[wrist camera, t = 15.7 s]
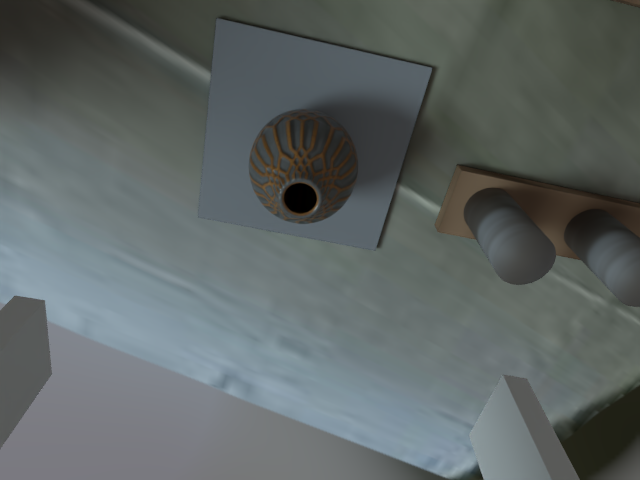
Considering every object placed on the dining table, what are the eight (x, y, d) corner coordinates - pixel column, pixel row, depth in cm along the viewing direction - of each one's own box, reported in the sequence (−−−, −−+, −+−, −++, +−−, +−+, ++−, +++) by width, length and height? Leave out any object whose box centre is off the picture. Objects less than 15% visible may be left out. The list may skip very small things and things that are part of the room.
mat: (198, 215, 35) (197, 217, 35) (217, 17, 29) (216, 18, 28) (374, 248, 37) (375, 250, 36) (431, 67, 30) (432, 68, 30)
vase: (322, 78, 30) (322, 110, 22) (371, 165, 33) (386, 219, 25) (236, 132, 32) (209, 178, 24) (290, 210, 35) (282, 273, 27)
